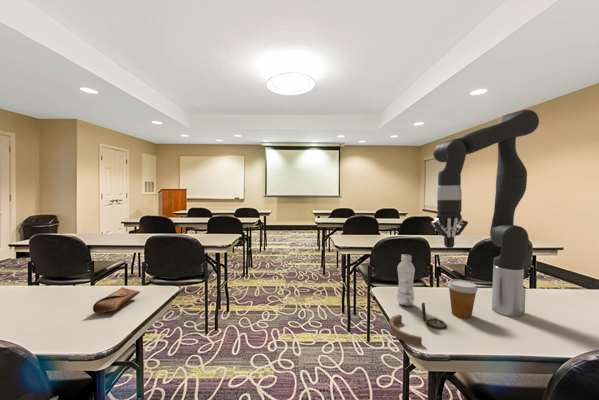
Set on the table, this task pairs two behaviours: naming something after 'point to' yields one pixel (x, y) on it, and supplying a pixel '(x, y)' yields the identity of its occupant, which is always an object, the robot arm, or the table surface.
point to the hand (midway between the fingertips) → (449, 247)
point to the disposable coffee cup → (462, 298)
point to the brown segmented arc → (402, 335)
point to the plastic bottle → (405, 281)
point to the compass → (433, 320)
